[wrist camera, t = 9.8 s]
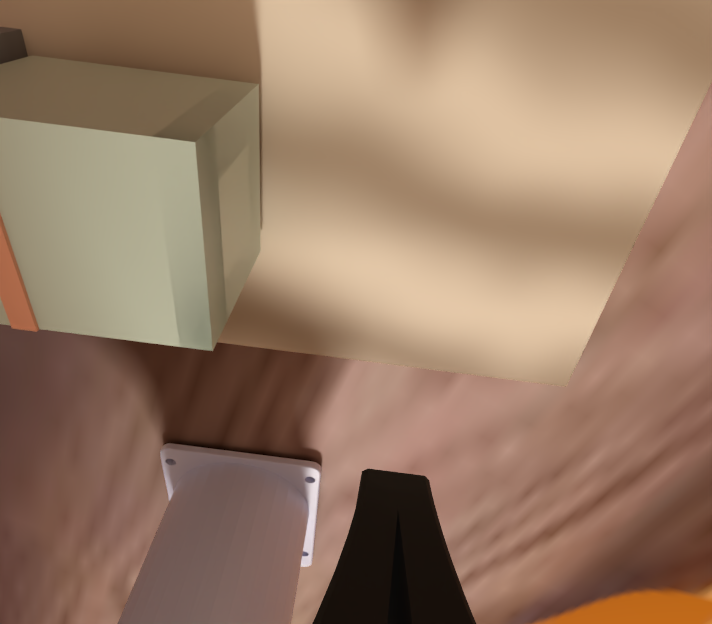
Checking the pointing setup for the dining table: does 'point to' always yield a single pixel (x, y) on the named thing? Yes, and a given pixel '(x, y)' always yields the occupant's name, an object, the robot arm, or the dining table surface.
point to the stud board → (426, 159)
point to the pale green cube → (126, 200)
